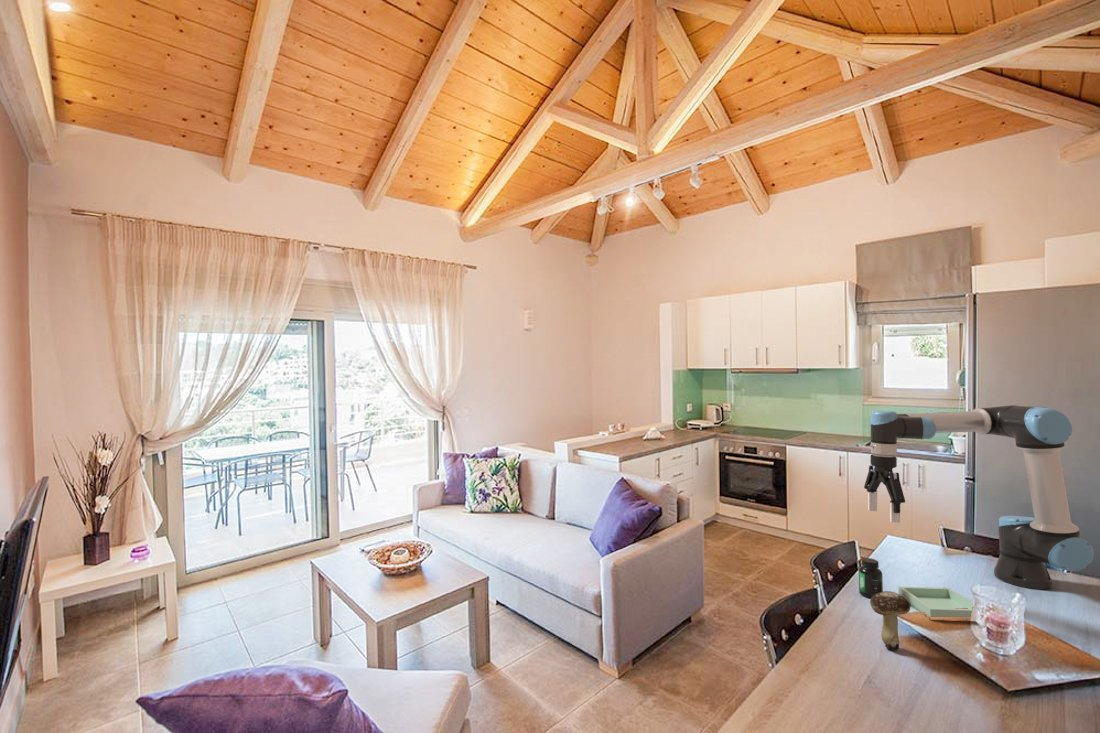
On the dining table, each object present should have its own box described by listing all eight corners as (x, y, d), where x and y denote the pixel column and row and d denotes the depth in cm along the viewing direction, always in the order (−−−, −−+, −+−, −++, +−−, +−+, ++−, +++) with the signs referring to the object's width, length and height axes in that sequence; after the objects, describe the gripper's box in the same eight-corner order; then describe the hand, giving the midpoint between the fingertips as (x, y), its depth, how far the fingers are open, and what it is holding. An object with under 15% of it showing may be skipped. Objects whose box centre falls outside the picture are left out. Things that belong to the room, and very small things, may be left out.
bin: (949, 598, 162) (948, 588, 162) (987, 622, 146) (986, 611, 146) (898, 596, 164) (898, 586, 164) (930, 620, 148) (930, 609, 148)
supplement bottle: (861, 598, 163) (860, 562, 163) (857, 589, 169) (856, 555, 170) (885, 601, 161) (884, 565, 161) (880, 592, 167) (879, 558, 167)
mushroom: (905, 643, 136) (903, 589, 136) (917, 660, 128) (915, 603, 128) (866, 637, 139) (865, 585, 139) (875, 654, 131) (874, 598, 131)
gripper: (853, 449, 180) (853, 506, 180) (893, 461, 155) (893, 526, 155) (875, 450, 179) (874, 506, 179) (918, 461, 154) (918, 528, 154)
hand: (883, 516), depth 167 cm, fingers open, 13 cm apart
